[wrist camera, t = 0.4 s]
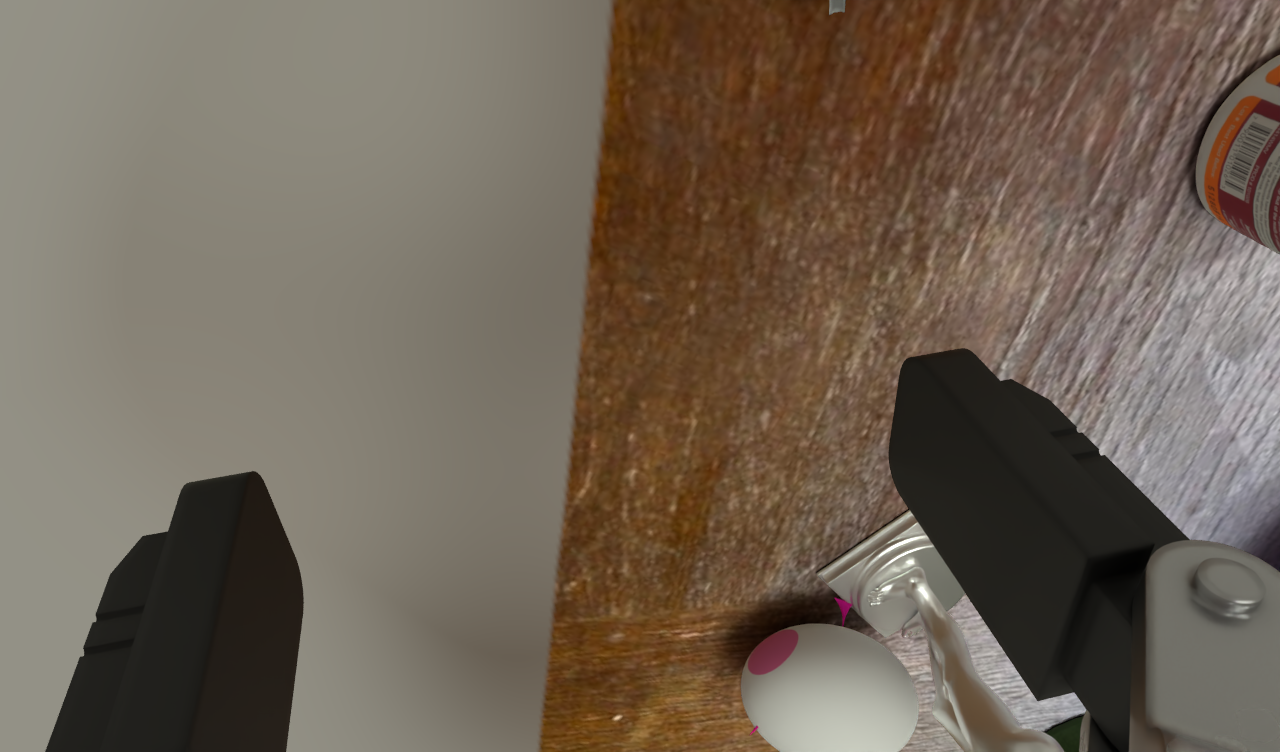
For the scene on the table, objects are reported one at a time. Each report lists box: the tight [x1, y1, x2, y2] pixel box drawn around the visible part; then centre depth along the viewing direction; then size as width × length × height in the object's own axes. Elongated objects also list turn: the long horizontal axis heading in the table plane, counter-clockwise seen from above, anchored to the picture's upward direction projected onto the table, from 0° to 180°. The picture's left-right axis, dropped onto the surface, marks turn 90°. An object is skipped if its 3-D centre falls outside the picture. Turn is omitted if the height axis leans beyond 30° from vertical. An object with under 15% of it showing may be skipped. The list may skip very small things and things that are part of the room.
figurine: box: [816, 510, 1064, 752], centre depth 30 cm, size 8×7×18 cm
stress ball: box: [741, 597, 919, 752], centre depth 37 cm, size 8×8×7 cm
